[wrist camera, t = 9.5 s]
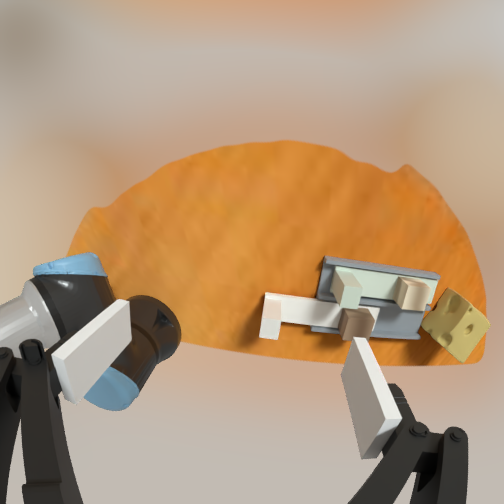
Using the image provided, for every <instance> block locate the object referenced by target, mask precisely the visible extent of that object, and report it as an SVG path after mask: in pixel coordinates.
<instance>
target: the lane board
mask: <svg viewBox="0 0 504 504" xmlns="http://www.w3.org/2000/svg"><path fill="white" fill-rule="evenodd" d="M335 265H340V266H347V267H354V268H361V269H368V270H375V271H382V272H389V273H396V274H403V275H410V276H418V277H425V278H432V279H439V280H440V277H441V276H440V275H438V274H437V273H435V272H430V271H424V270H417V269H410V268H404V267H397V266H391V265H384V264H377V263H370V262H364V261H357V260H350V259H343V258H337V257H330V256H324V261H323V266H322V272H321V277H320V281H319V286H318V291H317V296H316V299H321V300H329V301H336V298H335V296H334V294H333V293H331V292H330V286H331V282H332V277H333V272H334V268H335ZM359 304H363V305H372V306H379V308H380V310H379V313H378V316H377V320H376V323H375V326H374V329H373V331H372V332H371V335H370V337H382V338H398V339H420V337H421V336H420V335H419V334H418V330H419V327H420V325H421V322H422V319H423V316H424V313H425V310H427V311H430V309H431V307H430V306H429V305H428V303H427V304H426V307H425V310H424V311H417V310H406V309H401V308H400V306H399V305H398V304H397V303H396V302H395V301H394V300H391V299H382V298H373V297H364V296H361V298H360V302H359ZM310 327H311V331H314V332H324V333H333V334H340V332H339V329H338V328H332V327H323V326H314V325H310Z"/></svg>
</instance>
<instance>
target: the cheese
mask: <svg viewBox="0 0 504 504" xmlns="http://www.w3.org/2000/svg"><path fill="white" fill-rule="evenodd" d="M421 326H422V328H423V329H424V330H425V331H426V332H428V333H429V334H430V335H431V337H432V338H433V339H434V340H435V341H437V342H438V343H439V344H440V345H442V346H443V347H444V348H445V349H446V350H447V351H448V352H449V353H450V354H452V355H453V356H454V357H455V358H456V359H457V360H458V361H460V362H461V363H464V362H465V360H466V359H467V358H468V356H469V355H470V353H471V352H472V350H473V349H474V348H475V346H476V345H477V344H478V342H479V341H480V339H481V338H482V337H483V335H484V334H485V333H486V331H487V330H488V329H489V327H490V326H491V324H490V323H489V321H488V320H487V318H486V317H485V316H484V315H483V314H482V313H481V312H480V311H479V310H477V309H476V308H475V307H473V305H472V304H471V303H470V302H469V301H467V300H466V299H465V298H463V297H462V296H461V295H460V294H458V293H457V292H456V291H454V290H453V289H451V288H449V287H448V288H447V289H446V291H445V292H444V293H443V295H442V296H441V298H440V299H439V301H438V302H437V307H436V309H435V310H434V311H430V312H429V313H428V315H427V316H426V317H425V318H424V319H423V320H422V322H421Z"/></svg>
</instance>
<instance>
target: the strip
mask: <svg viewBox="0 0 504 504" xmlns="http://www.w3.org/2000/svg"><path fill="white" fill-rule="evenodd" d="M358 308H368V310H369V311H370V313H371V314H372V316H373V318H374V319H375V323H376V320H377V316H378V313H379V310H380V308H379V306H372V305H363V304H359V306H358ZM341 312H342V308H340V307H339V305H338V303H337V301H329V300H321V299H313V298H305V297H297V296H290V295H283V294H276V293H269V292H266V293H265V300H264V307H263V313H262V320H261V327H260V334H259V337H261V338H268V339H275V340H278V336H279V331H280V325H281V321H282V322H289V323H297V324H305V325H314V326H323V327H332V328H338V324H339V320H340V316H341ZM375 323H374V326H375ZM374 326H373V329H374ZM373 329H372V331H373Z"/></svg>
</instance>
